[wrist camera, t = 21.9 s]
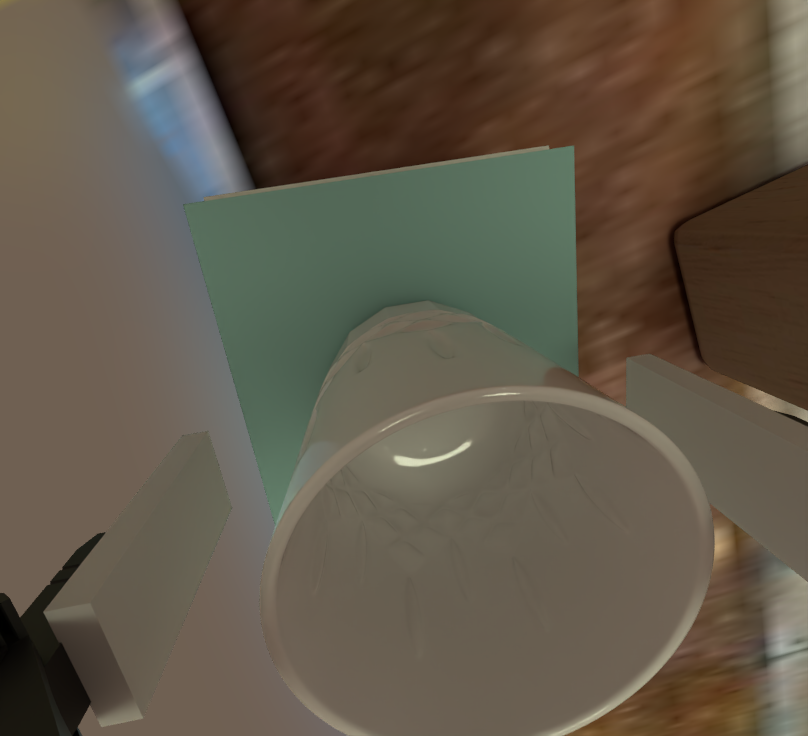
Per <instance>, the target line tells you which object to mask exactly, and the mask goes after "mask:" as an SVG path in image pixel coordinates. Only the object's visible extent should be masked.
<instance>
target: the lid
mask: <svg viewBox="0 0 808 736" xmlns="http://www.w3.org/2000/svg"><path fill="white" fill-rule="evenodd" d="M183 206H184V209H185V213H186V216H187V220H188V223H189V227H190V230H191V234H192V237H193V241H194V244H195V248H196V251H197V254H198V258H199V262H200V265H201V269H202V272H203V276H204V279H205V283H206V286H207V290H208V293H209V296H210V300H211V304H212V307H213V311H214V314H215V317H216V321H217V325H218V328H219V332H220V335H221V339H222V342H223V345H224V349H225V352H226V356H227V359H228V363H229V366H230V370H231V373H232V377H233V380H234V384H235V387H236V391H237V394H238V398H239V401H240V405H241V408H242V412H243V415H244V419H245V422H246V426H247V429H248V433H249V436H250V439H251V443H252V447H253V450H254V453H255V457H256V460H257V464H258V468H259V471H260V474H261V478H262V481H263V485H264V488H265V492H266V495H267V499H268V502H269V505H270V509H271V513H272V516H273V519H274V523H275V526H276V523H277V520H278V516H279V513H280V510H281V507H282V504H283V501H284V498H285V494H286V491H287V488H288V485H289V482H290V479H291V475H292V472H293V469H294V466H295V462H296V459H297V456H298V453H299V450H300V446H301V443H302V440H303V437H304V433H305V430H306V427H307V424H308V422H309V419H310V417H311V414H312V411H313V409H314V406H315V403H316V400H317V397H318V395H319V392H320V389H321V387H322V384H323V382H324V380H325V378H326V375H327V373H328V370H329V368H330V366H331V364H332V362H333V361H334V359H335V357H336V355H337V353H338V352H339V350H340V348H341V346H342V344H343V343H344V341H345V339H346V337H347V335H348V334H349V332H350V331H352V330H353V329H354V328H356V327H357V326H359V325H360V324H362V323H363V322H365V321H366V320H367V319H369V318H370V317H372V316H373V315H375V314H376V313H378V312H379V311H380V310H382V309H383V308H385V307H389V306H395V305H401V304H407V303H414V302H420V301H426V300H430V301H433V302H437V303H440V304H443V305H447V306H450V307H453V308H457V309H460V310H464V311H467V312H469V313H471V314H473V315H474V316H475V317H477V318H478V319H481V320H483V321H485V322H487V323H489V324H491V325H493V326H495V327H497V328H499V329H501V330H503V331H504V332H506V333H507V334H509V335H511V336H513V337H515V338H517V339H519V340H521V341H522V342H524V343H526V344H527V345H529V346H531V347H532V348H534V349H536V350H537V351H539V352H540V353H542V354H543V355H545V356H546V357H548V358H550V359H551V360H553V361H554V362H556V363H557V364H559V365H560V366H562V367H564V368H565V369H567V370H568V371H570V372H571V373H573V374H574V375H576V376H578V326H577V276H576V226H575V175H574V146H568V147H562V148H555V149H548V150H542V151H535V152H528V153H522V154H515V155H508V156H502V157H495V158H488V159H482V160H475V161H469V162H462V163H455V164H449V165H442V166H435V167H429V168H422V169H415V170H409V171H402V172H395V173H389V174H382V175H375V176H369V177H362V178H355V179H349V180H342V181H335V182H329V183H322V184H315V185H309V186H302V187H296V188H289V189H282V190H276V191H269V192H262V193H256V194H249V195H242V196H236V197H229V198H222V199H216V200H209V201H202V202H196V203H189V204H184V205H183Z"/></svg>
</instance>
